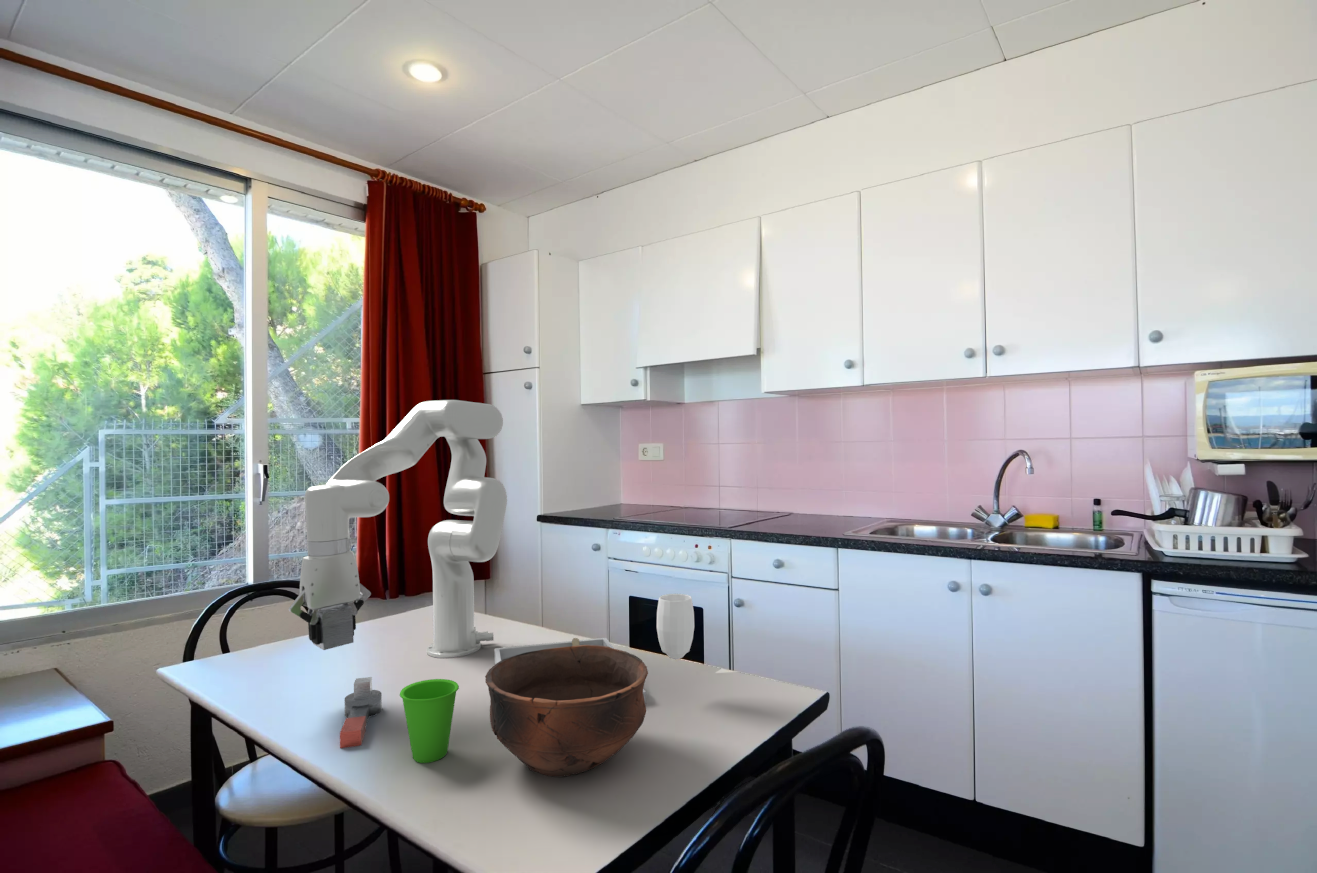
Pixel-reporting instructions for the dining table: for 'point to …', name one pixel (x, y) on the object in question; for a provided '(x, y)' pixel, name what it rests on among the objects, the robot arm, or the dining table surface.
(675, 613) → the cup
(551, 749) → the bowl
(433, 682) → the cup
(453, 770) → the dining table surface
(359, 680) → the ratchet
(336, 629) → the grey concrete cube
